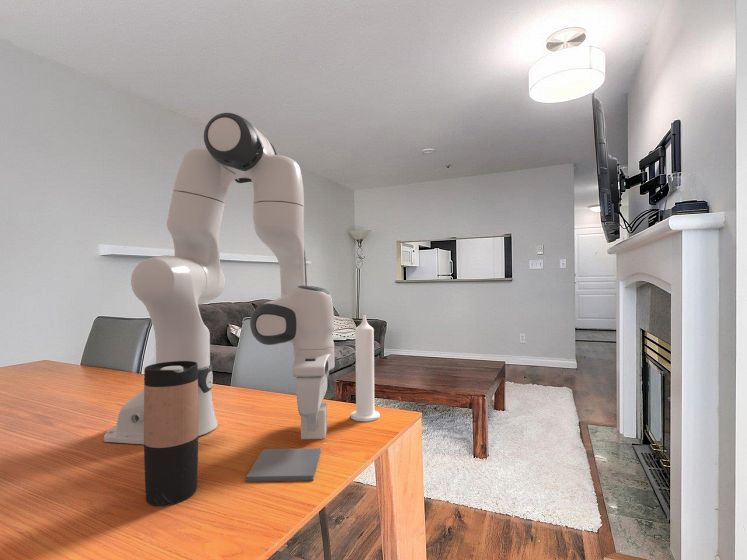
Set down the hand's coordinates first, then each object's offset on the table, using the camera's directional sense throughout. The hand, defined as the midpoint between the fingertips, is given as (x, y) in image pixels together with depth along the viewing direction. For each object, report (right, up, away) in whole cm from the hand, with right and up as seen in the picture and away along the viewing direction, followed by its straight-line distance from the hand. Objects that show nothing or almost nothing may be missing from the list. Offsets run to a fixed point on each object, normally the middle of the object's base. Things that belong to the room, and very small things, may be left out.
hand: (314, 423), depth 86 cm
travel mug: (-19, -2, -24) cm, 31 cm away
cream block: (0, -2, 0) cm, 2 cm away
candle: (+11, -3, +11) cm, 16 cm away
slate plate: (-3, -2, -15) cm, 15 cm away
